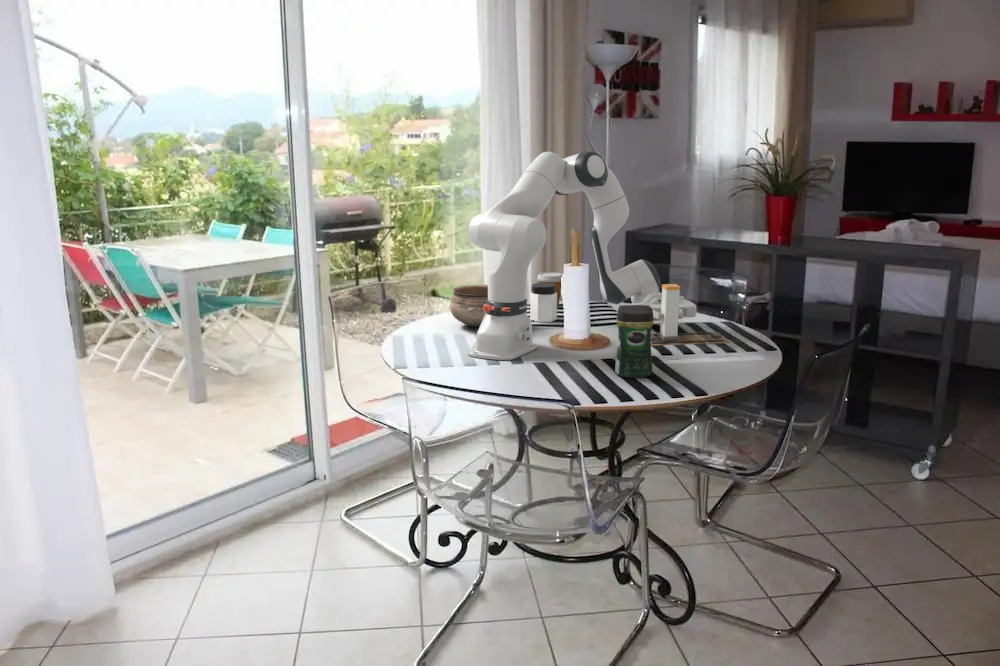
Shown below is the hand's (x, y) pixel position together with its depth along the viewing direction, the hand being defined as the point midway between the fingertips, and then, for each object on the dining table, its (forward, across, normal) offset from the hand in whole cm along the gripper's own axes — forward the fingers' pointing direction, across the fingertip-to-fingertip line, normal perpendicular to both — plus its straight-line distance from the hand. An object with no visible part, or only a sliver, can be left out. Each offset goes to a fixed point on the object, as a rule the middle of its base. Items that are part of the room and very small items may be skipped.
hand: (670, 316), depth 239 cm
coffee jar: (+28, -20, +9) cm, 36 cm away
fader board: (-1, +4, +8) cm, 9 cm away
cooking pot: (-30, -54, +9) cm, 62 cm away
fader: (-1, 0, +7) cm, 7 cm away
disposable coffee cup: (-55, -26, +9) cm, 62 cm away
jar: (-36, -32, +9) cm, 49 cm away
